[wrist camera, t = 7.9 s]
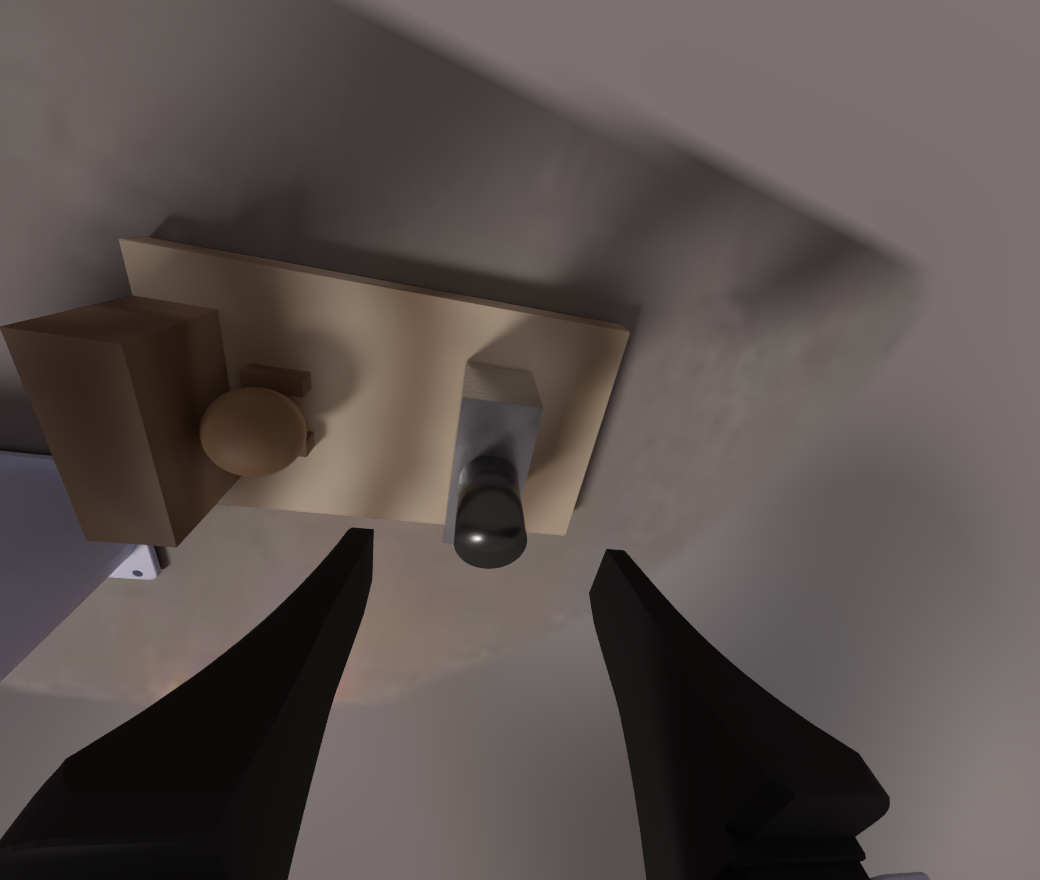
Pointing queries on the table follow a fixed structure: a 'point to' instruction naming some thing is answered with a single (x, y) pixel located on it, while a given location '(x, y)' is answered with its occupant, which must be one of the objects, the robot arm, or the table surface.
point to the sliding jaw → (492, 464)
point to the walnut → (253, 431)
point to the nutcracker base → (295, 391)
